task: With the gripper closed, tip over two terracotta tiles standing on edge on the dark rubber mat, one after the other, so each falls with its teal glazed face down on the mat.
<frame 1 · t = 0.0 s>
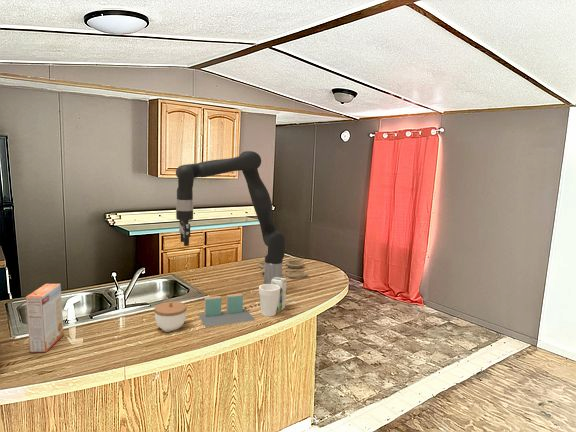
hand: (184, 243, 189), 29 cm above the countertop, tool pointing down, fingers open, 8 cm apart
lidded bowl: (170, 328, 167), on the countertop
syrup box: (277, 308, 193), on the countertop
tile A: (234, 312, 185), point 1 cm above the countertop, touching mat
tile B: (212, 314, 180), point 1 cm above the countertop, touching mat
foam cup: (268, 315, 185), on the countertop
mat: (226, 318, 179), on the countertop
tableware set: (282, 271, 255), on the countertop
cracker box: (47, 344, 150), on the countertop
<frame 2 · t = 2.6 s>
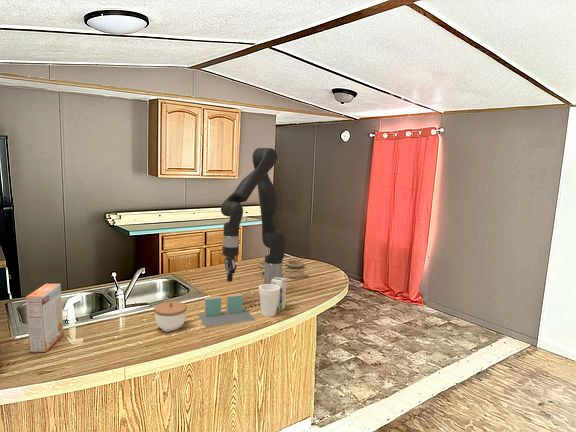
hand: (229, 281, 190), 13 cm above the countertop, tool pointing down, fingers closed
nothing on the countertop moved.
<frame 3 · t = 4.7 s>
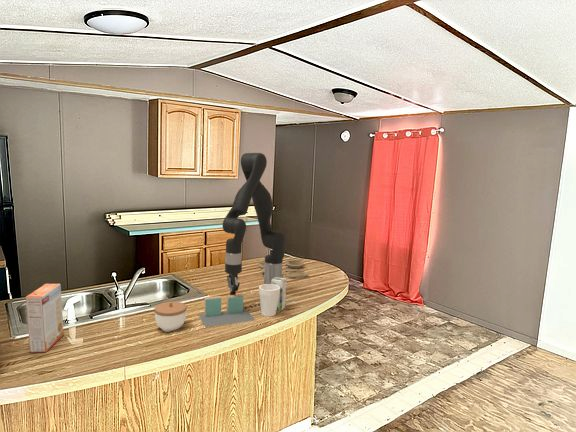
hand: (232, 298, 186), 6 cm above the countertop, tool pointing down, fingers closed
tile A: (234, 312, 185), point 1 cm above the countertop, tilted 6°, touching gripper, mat
everything else where it was.
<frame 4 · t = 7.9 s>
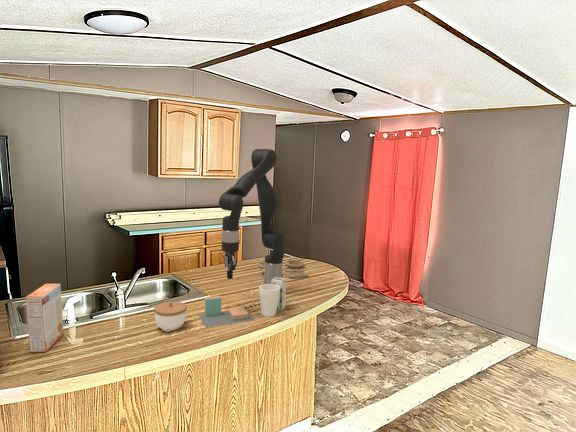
hand: (229, 278, 180), 17 cm above the countertop, tool pointing down, fingers closed
tile A: (235, 310, 183), point 2 cm above the countertop, tilted 90°, touching mat
everything else where it was.
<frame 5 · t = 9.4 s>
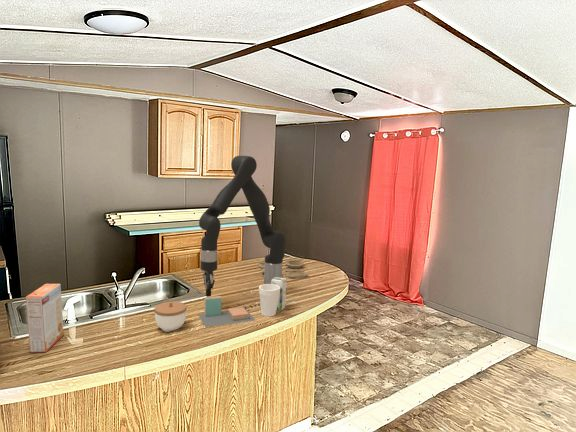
hand: (208, 296, 187), 7 cm above the countertop, tool pointing down, fingers closed
nothing on the countertop moved.
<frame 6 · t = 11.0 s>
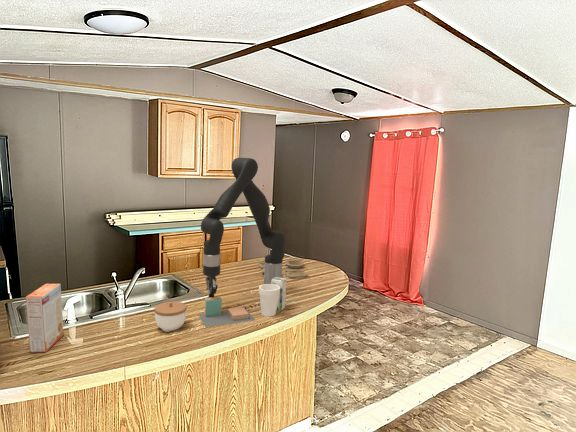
hand: (211, 301, 182), 6 cm above the countertop, tool pointing down, fingers closed
tile B: (212, 314, 180), point 1 cm above the countertop, tilted 8°, touching mat
everything else where it was.
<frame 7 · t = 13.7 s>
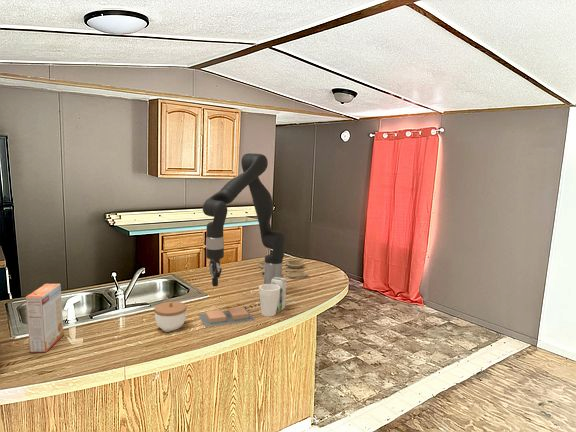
hand: (215, 285, 176), 15 cm above the countertop, tool pointing down, fingers closed
tile B: (213, 313, 179), point 2 cm above the countertop, tilted 90°, touching mat
everything else where it was.
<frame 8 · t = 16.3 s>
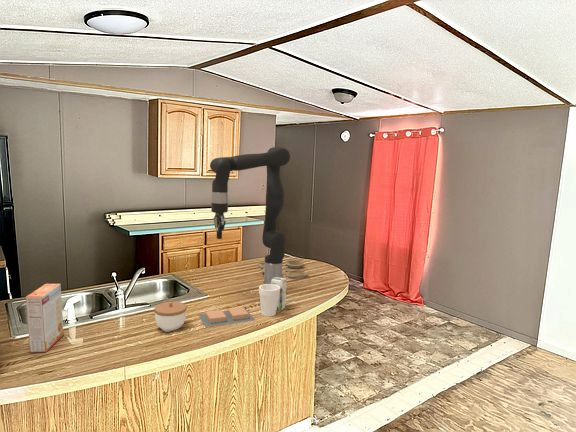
hand: (219, 238, 190), 32 cm above the countertop, tool pointing down, fingers closed
nothing on the countertop moved.
at the end: tile A tilted 90°; tile B tilted 90°; tile A inside the target area (6.0 cm from its centre), point 1.8 cm above the countertop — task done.
